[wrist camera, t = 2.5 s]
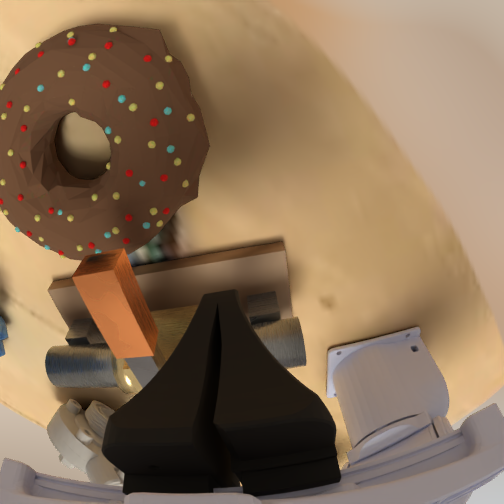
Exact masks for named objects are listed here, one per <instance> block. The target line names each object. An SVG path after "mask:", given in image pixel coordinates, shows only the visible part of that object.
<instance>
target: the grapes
mask: <svg viewBox="0 0 504 504" xmlns="http://www.w3.org/2000/svg"><path fill="white" fill-rule="evenodd" d="M7 337H8V333H7V328H6V324H5V321H4V319H3V318H2V317H1V316H0V357H1V356H3V355H5V350H4V345H3V342H2V340H3V339H5V338H7Z"/></svg>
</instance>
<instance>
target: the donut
mask: <svg viewBox="0 0 504 504" xmlns="http://www.w3.org/2000/svg"><path fill="white" fill-rule="evenodd" d="M71 112H76V113H77V114H78V115H79V116H81V117H83V118H86V119H89V120H92V121H95V122H96V123H97V124H98V125H100V126H101V127H102V128H103V130H104V132H105V134H106V136H107V138H108V140H109V142H110V147H111V157H110V161H109V163H107V164H106V168H107V171H106V172H105V173H104V174H103V175H101V176H100V177H98V178H96V179H94V180H85V179H77V178H75V177H74V176H72V175H70V174H69V173H68V172H67V170H66V169H65V168H64V167H63V165H62V164H61V163H60V162H59V160H58V158H57V153H56V148H55V143H54V138H55V134H56V130H57V127H58V123H59V121H60V120H61V119H62V117H63V116H65V115H67V114H69V113H71ZM209 147H210V144H209V141H208V137H207V133H206V129H205V126H204V122H203V118H202V114H201V111H200V108H199V106H198V105H197V103H196V101H195V100H194V98H193V96H192V93H191V90H190V83H189V77H188V75H187V73H186V71H185V69H184V67H183V65H182V63H181V62H180V61H179V60H177V59H176V58H174V57H173V56H171V55H170V54H169V52H168V49H167V47H166V44H165V42H164V39H163V37H162V34H161V32H160V30H157V29H149V28H140V27H129V26H115V25H104V24H93V25H85V26H79V27H75V28H72V29H69V30H66V31H63V32H61V33H59V34H57V35H55V36H53V37H51V38H50V39H48V40H46V41H44V42H43V43H41V42H39V43H37V44H36V47H35V48H33V49H32V50H30V51H29V52H27V53H26V54H25V55H24V56H23V57H22V58H21V59H20V60H19V62H18V63H17V64H16V65H15V66H14V67H13V69H12V70H11V72H10V73H9V75H8V76H7V78H6V79H5V81H4V82H3V84H1V86H0V211H1V210H2V212H3V213H4V215H5V216H6V217H7V219H8V220H9V221H10V222H11V223H12V224H13V225H14V226H15V227H16V228H15V230H16V232H20V231H21V232H22V233H23V234H25V235H26V236H28V237H29V238H30V239H32V240H33V241H35V242H36V243H37V244H39V245H40V246H43V247H45V249H47V250H48V249H50V250H52V251H55V252H57V253H59V255H60V257H61V258H65V257H67V258H69V259H74V260H83V258H84V257H85V256H86V255H91V254H96V253H101V252H106V251H111V250H116V249H121V248H124V249H125V251H126V254H130V253H132V252H134V251H135V250H137V249H138V248H140V247H142V246H143V245H145V244H146V243H148V242H149V241H150V240H151V239H152V238H154V237H155V236H156V235H157V234H158V233H159V232H160V231H161V229H162V228H163V227H164V226H165V225H166V223H167V222H168V221H169V220H170V219H171V217H172V216H173V215H174V214H175V213H176V211H177V210H178V209H179V208H180V207H181V206H182V205H184V204H186V203H188V202H190V201H191V200H193V199H195V198H197V197H198V186H199V175H200V172H201V169H202V166H203V163H204V161H205V158H206V155H207V152H208V149H209Z"/></svg>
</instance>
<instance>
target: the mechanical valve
mask: <svg viewBox="0 0 504 504" xmlns="http://www.w3.org/2000/svg"><path fill="white" fill-rule="evenodd" d="M81 408H82V407H81V405H80V404H79V403H78V402H77V401H75V400H73V399H69V401H68V402H67V404H63V405H61V406H60V407H59V409H58V410H57V412H56V413H55V415H54V416H53V418H52V419H51V421H50V422H49V424H48V426H47V431H48V435H49V438H50V440H51V442H52V443H53V445H54V446H55V448H56V449H57V450H58V451H59V453H60V455H59V459H60V462H61V463H62V464H63V465H65V466H66V467H68V468H72V469H73V468H75V467H76V468H78V469H79V470H80V471H82V472H84V473H85V474H86V473H87V475H88V478H89V480H90V482H91V483H97V484H104V485H113V486H123V481H124V473H123V472H122V471H120V470H119V469H118V468H117V467H115V466H114V465H113V464H112V463H110V462H109V461H108V460H107V459H106V458H105V457H104V455H103V454H102V451H101V449H102V444H103V438H104V433H105V429H106V425H107V422H108V419H109V416H110V415H112V414H113V413H114V412H115V411H114V410H113V409H111V408H110V407H108V406H106V405H105V404H103V403H101V402H98V401H92V403H91V404H90V406H89V407H88V408H87V410H86V411H85V410H83V409H81Z"/></svg>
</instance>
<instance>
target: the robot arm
mask: <svg viewBox="0 0 504 504" xmlns="http://www.w3.org/2000/svg"><path fill="white" fill-rule="evenodd" d="M420 332H421V330H420V328H419V327H414V328H411V329H407V330H404V331H400V332H396V333H393V334H389V335H385V336H381V337H377V338H374V339H370V340H365V341H361V342H357V343H353V344H349V345H344V346H340V347H335V348H332V349H330V350H329V351H328V358H327V390H326V395H327V397H328V398H333V397H337V398H338V401H339V405H340V408H341V411H342V415H343V418H344V421H345V425H346V428H347V431H348V435H349V438H350V442H351V445H352V450H350V451H348V452H347V456H348V460H349V462H347V463H345V464H344V465H343V467H342V470H340V469H339V465H338V461H337V457H336V456H337V451H336V447H335V437H336V425H335V422H334V420H333V418H332V416H331V414H330V412H329V411H328V409H327V408H326V406H325V405H324V403H323V402H322V400H321V399H320V397H319V396H318V395H317V394H316V393H314V392H313V391H311V390H310V389H309V388H307V387H306V386H305V385H303V384H302V383H301V382H300V381H299V380H297V379H296V378H295V377H294V376H293V375H292V374H291V373H290V372H289V371H288V370H287V369H286V368H285V367H284V366H282V365H281V364H280V363H279V362H278V360H277V359H276V358H275V357H274V356H273V355H272V354H271V352H270V351H269V350H268V349H267V347H266V346H265V345H264V344H263V342H262V341H261V339H260V338H259V337H258V335H257V334H256V332H255V331H254V329H253V327H252V326H251V324H250V322H249V320H248V318H247V316H246V315H245V312H244V310H243V308H242V306H241V302H240V297H239V293H238V291H237V290H236V289H232V290H226V291H220V292H213V293H207V294H204V295H203V296H202V298H201V301H200V303H199V305H198V308H197V310H196V312H195V314H194V316H193V318H192V320H191V322H190V324H189V326H188V328H187V330H186V331H185V333H184V335H183V337H182V338H181V340H180V342H179V343H178V345H177V347H176V348H175V350H174V351H173V353H172V354H171V356H170V357H169V358H168V360H167V361H166V362H165V364H164V365H163V366H162V368H161V369H160V370H159V371H158V372H157V374H156V375H155V376H154V377H153V378H152V379H151V380H150V382H149V383H148V384H147V385H146V386H145V387H144V388H143V389H142V390H141V391H140V392H138V393H137V394H136V395H135V396H134V397H133V398H132V399H131V400H130V401H128V402H127V403H126V404H125V405H123V406H122V407H121V408H119V409H118V410H117V411H116V412H114V413H113V414H112V415H110V416H109V419H108V422H107V425H106V429H105V433H104V438H103V444H102V449H101V451H102V454H103V455H104V457H105V458H106V459H107V460H108V461H109V462H110V463H112V464H113V465H114V466H115V467H117V468H118V469H119V470H120V471H122V472H123V473H124V481H123V486H113V485H104V484H97V483H90V482H83V481H76V480H71V479H66V478H61V477H56V476H51V475H47V474H42V473H38V472H36V471H35V470H34V469H32V468H31V467H30V466H28V465H26V464H24V463H22V462H19V461H15V460H12V459H8V458H4V460H3V464H2V467H1V471H0V504H466V502H467V500H468V499H469V497H470V496H471V494H472V492H473V491H474V490H476V489H478V488H479V487H481V486H483V485H485V484H486V483H488V482H490V481H491V480H493V479H494V478H495V477H497V476H498V475H499V474H500V473H501V472H503V471H504V417H503V415H502V413H501V412H500V410H499V408H498V406H497V404H496V403H493V404H491V405H489V406H488V407H486V408H484V409H482V410H480V411H478V412H476V413H474V414H472V415H470V416H469V417H468V418H467V419H466V420H465V421H464V422H463V424H462V425H461V427H460V428H459V429H457V430H454V431H453V429H452V427H451V425H450V423H449V421H448V419H447V418H446V417H445V416H446V414H447V412H448V408H449V394H448V389H447V385H446V382H445V380H444V377H443V375H442V374H441V372H440V370H439V368H438V366H437V365H436V363H435V361H434V359H433V358H432V356H431V354H430V353H429V351H428V349H427V348H426V346H425V344H424V342H423V341H422V339H421V337H420ZM240 482H241V484H242V486H241V487H240Z"/></svg>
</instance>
